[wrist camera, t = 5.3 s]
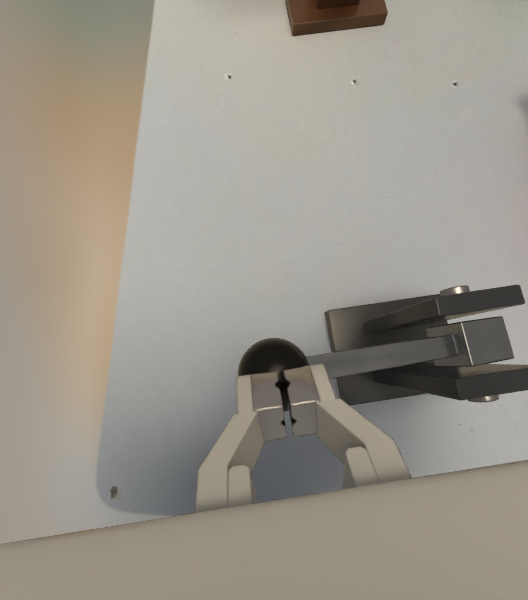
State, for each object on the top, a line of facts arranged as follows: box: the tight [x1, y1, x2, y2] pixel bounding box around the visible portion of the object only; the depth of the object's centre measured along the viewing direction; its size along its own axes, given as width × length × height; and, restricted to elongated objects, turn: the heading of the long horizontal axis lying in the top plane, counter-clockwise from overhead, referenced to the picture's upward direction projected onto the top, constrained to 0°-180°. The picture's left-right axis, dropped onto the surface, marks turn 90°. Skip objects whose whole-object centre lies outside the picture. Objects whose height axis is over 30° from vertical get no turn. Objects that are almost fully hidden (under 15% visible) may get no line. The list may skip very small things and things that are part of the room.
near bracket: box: [325, 285, 528, 405], centre depth 21 cm, size 10×8×13 cm
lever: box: [238, 316, 514, 411], centre depth 15 cm, size 14×3×3 cm, turn 98°
